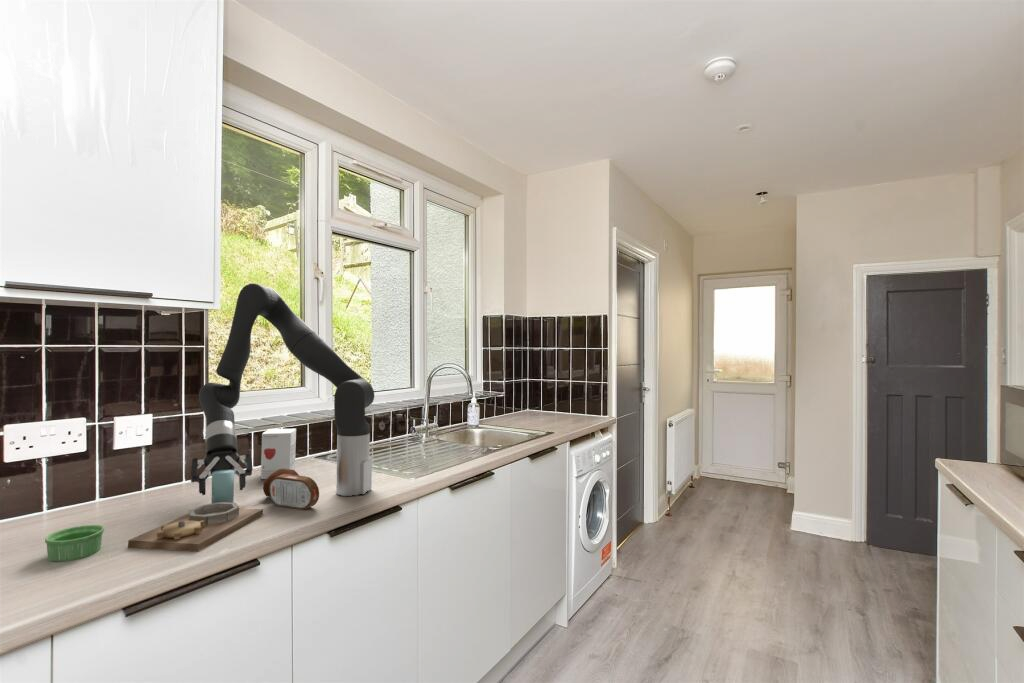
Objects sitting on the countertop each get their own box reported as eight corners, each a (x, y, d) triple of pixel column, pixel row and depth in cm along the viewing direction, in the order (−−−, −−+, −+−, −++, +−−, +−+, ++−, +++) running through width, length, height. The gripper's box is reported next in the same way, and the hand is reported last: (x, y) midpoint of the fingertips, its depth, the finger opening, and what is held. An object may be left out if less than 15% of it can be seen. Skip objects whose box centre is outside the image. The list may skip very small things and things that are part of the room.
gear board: (262, 515, 122) (263, 499, 122) (198, 551, 100) (198, 532, 100) (204, 512, 124) (204, 496, 124) (127, 547, 102) (128, 528, 102)
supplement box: (259, 479, 154) (260, 433, 155) (267, 472, 163) (267, 428, 163) (290, 478, 156) (291, 432, 157) (295, 471, 165) (296, 428, 165)
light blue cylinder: (237, 505, 130) (238, 469, 130) (224, 511, 125) (225, 474, 125) (220, 504, 130) (220, 469, 130) (206, 510, 125) (207, 473, 125)
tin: (319, 508, 128) (320, 477, 128) (311, 512, 125) (311, 480, 125) (275, 502, 133) (276, 471, 133) (266, 505, 130) (266, 474, 130)
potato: (309, 492, 142) (309, 465, 142) (276, 503, 132) (276, 474, 132) (290, 488, 145) (291, 462, 145) (256, 499, 135) (257, 471, 135)
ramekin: (35, 567, 93) (35, 544, 93) (57, 549, 101) (57, 528, 101) (93, 559, 96) (94, 537, 96) (110, 542, 105) (110, 522, 105)
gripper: (191, 434, 130) (190, 487, 120) (250, 430, 138) (254, 479, 128) (190, 450, 134) (190, 503, 125) (248, 445, 142) (252, 494, 133)
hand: (223, 491), depth 127 cm, fingers open, 8 cm apart
